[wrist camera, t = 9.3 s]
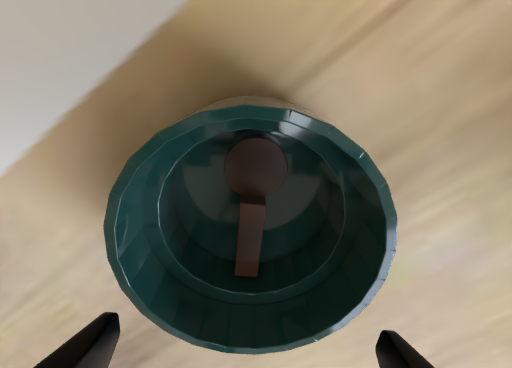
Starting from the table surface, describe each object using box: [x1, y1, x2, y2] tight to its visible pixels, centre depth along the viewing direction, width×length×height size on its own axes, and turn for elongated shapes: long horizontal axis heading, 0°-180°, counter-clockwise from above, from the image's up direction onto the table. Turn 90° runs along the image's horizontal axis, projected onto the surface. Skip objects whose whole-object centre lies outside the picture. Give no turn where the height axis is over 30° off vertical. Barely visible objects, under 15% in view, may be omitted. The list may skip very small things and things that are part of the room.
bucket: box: [103, 95, 397, 355], centre depth 15 cm, size 13×13×6 cm
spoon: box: [224, 134, 288, 277], centre depth 16 cm, size 9×4×2 cm, turn 175°
